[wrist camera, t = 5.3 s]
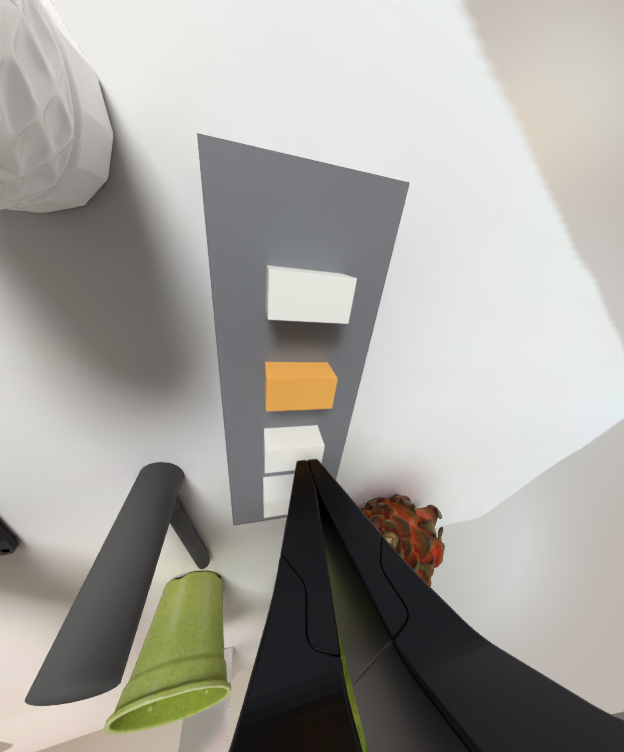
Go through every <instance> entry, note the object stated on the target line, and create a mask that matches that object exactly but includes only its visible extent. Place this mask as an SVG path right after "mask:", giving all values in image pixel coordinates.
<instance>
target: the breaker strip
mask: <svg viewBox="0 0 624 752" xmlns="http://www.w3.org/2000/svg"><path fill="white" fill-rule="evenodd" d="M197 137H198V148H199V159H200V170H201V180H202V191H203V202H204V213H205V223H206V234H207V245H208V256H209V267H210V277H211V288H212V299H213V310H214V320H215V331H216V342H217V353H218V364H219V374H220V385H221V396H222V407H223V417H224V428H225V439H226V450H227V461H228V471H229V482H230V493H231V504H232V514H233V525H240V524H246V523H252V522H259V521H265V520H271V519H278V518H284V517H287V514H288V508H289V502H290V496H291V490H292V485H293V479H294V473H295V467H296V462H297V461H298V460H309V459H318V460H319V461H320V462H321V464H322V465H323V466H324V467H325V468H326V470H327V471H328V472H329V473H330V474H331V475H332V477H333V478H334V479H335V480H336V477H337V473H338V469H339V465H340V461H341V457H342V453H343V449H344V445H345V441H346V437H347V433H348V429H349V425H350V421H351V417H352V412H353V408H354V404H355V400H356V396H357V392H358V388H359V384H360V380H361V376H362V372H363V368H364V364H365V360H366V356H367V352H368V348H369V344H370V340H371V336H372V332H373V328H374V324H375V320H376V316H377V312H378V308H379V304H380V300H381V296H382V292H383V288H384V284H385V280H386V276H387V272H388V268H389V264H390V260H391V256H392V252H393V248H394V244H395V240H396V236H397V232H398V228H399V223H400V219H401V215H402V211H403V207H404V203H405V199H406V195H407V191H408V187H409V182H405V181H400V180H396V179H392V178H388V177H383V176H379V175H375V174H370V173H366V172H362V171H357V170H353V169H349V168H344V167H340V166H336V165H332V164H327V163H323V162H319V161H314V160H310V159H306V158H301V157H297V156H293V155H289V154H284V153H280V152H276V151H271V150H267V149H263V148H258V147H254V146H250V145H246V144H241V143H237V142H233V141H228V140H224V139H220V138H215V137H211V136H207V135H202V134H198V133H197Z"/></svg>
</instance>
